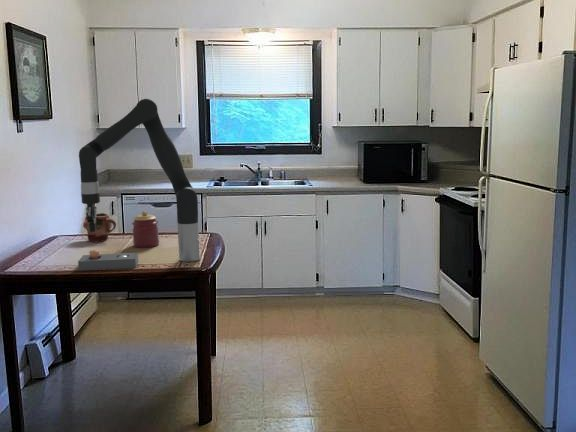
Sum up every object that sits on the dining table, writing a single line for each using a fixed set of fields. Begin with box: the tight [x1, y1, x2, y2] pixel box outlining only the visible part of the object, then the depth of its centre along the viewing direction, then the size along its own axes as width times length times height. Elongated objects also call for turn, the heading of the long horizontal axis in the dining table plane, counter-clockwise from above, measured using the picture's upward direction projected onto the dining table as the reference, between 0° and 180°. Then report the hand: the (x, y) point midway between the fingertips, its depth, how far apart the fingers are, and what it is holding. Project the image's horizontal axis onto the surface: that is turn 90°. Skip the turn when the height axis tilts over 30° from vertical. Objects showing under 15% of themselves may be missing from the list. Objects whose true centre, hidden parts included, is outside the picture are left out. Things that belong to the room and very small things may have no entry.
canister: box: [131, 210, 160, 249], centre depth 312 cm, size 13×13×18 cm
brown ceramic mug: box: [82, 212, 117, 243], centre depth 327 cm, size 20×12×14 cm, turn 76°
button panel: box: [77, 252, 139, 271], centre depth 273 cm, size 24×12×4 cm, turn 98°
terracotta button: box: [89, 249, 100, 259], centre depth 271 cm, size 4×4×3 cm
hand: (92, 231), depth 269 cm, fingers closed
